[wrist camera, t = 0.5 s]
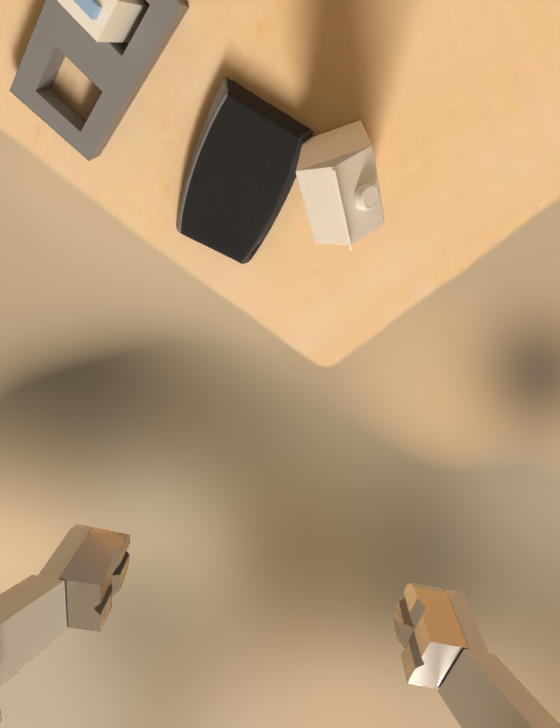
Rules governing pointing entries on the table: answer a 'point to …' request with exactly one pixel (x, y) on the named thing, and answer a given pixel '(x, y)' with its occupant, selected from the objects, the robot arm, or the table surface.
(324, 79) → the table surface
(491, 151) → the table surface
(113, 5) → the plug
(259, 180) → the external hard drive
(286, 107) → the table surface
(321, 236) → the milk carton
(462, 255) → the table surface
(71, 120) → the socket panel
